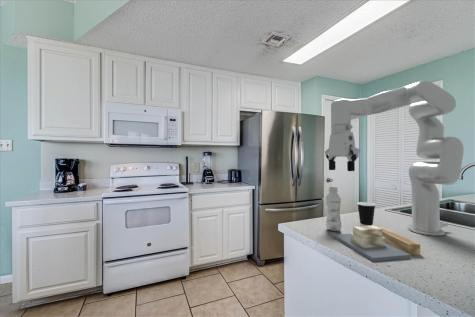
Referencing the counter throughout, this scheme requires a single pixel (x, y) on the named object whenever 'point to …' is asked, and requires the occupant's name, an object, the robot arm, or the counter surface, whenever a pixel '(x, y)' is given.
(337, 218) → the plastic bottle
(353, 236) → the stepped block
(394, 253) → the slate board
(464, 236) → the counter surface
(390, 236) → the oak bar
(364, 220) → the dixie cup
